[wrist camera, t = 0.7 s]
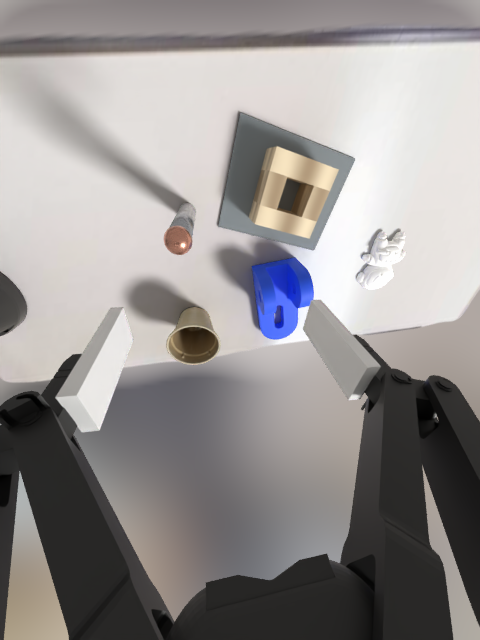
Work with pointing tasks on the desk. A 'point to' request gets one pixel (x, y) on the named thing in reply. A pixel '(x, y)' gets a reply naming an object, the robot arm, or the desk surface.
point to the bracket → (281, 295)
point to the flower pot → (193, 338)
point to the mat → (247, 169)
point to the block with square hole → (309, 196)
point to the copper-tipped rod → (181, 230)
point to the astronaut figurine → (381, 260)
